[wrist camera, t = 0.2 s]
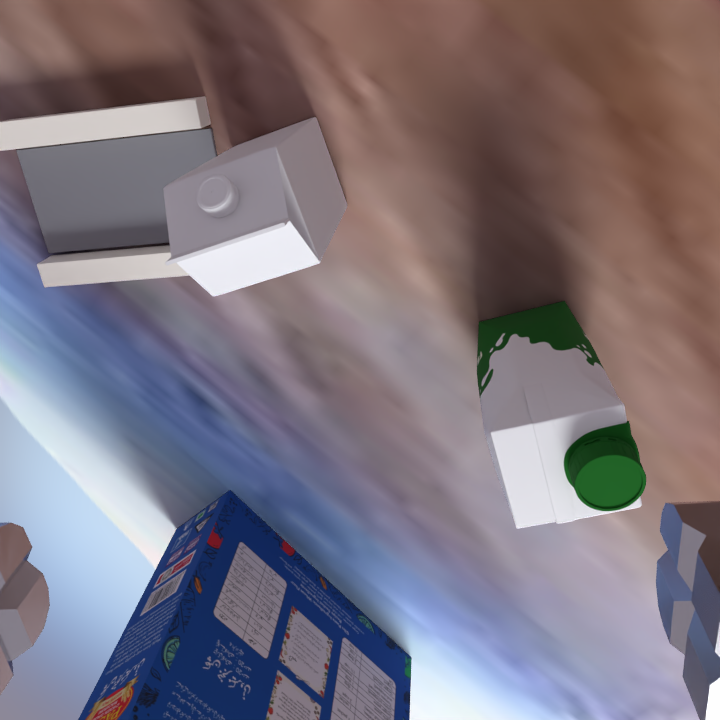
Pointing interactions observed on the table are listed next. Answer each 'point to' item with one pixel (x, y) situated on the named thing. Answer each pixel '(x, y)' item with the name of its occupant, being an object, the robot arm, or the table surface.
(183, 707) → the pasta box
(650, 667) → the table surface
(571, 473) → the soya milk
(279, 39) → the table surface
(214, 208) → the milk carton
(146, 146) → the cradle
